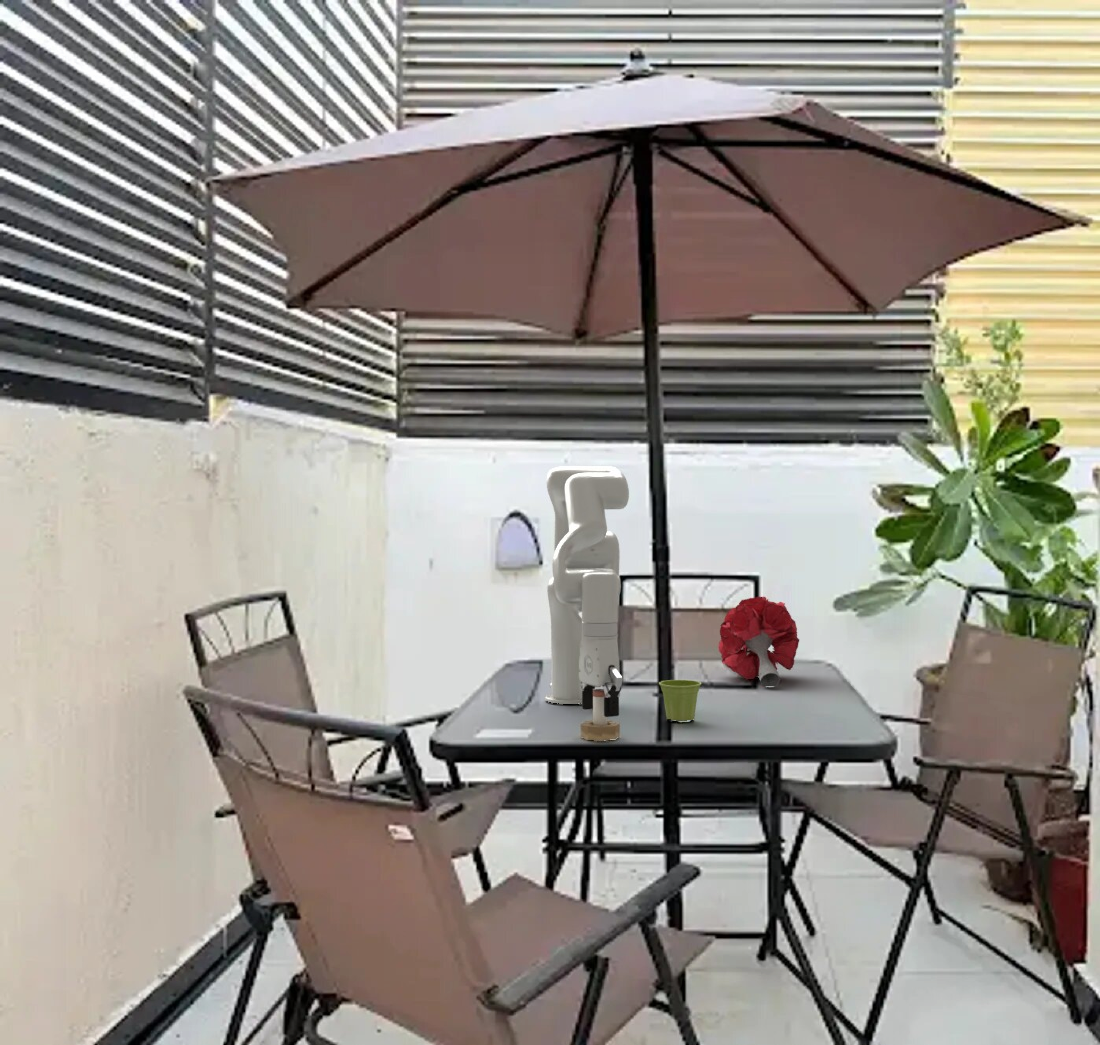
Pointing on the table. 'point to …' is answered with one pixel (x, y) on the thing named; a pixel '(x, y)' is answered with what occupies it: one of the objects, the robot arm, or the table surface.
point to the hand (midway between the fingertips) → (600, 712)
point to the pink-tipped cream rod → (599, 708)
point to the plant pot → (680, 698)
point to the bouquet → (758, 639)
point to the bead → (600, 731)
